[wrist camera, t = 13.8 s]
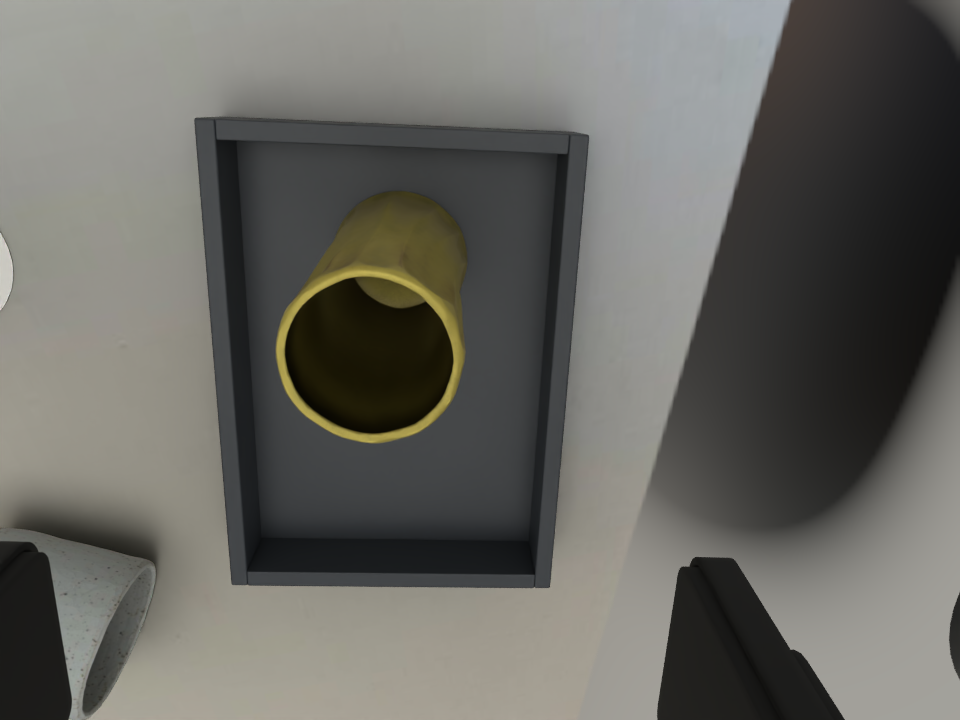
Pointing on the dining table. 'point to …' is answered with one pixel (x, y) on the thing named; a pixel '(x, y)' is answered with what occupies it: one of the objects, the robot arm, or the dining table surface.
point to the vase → (379, 322)
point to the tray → (485, 375)
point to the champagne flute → (5, 272)
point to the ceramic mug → (94, 611)
